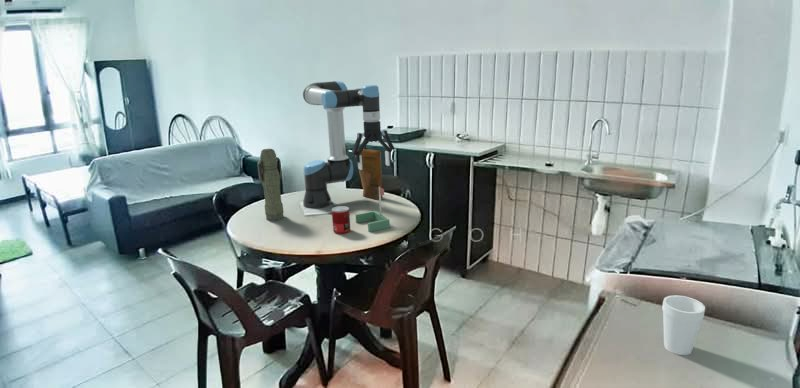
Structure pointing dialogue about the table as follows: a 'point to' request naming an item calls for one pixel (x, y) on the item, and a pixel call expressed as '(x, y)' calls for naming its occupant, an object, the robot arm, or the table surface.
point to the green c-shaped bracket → (374, 217)
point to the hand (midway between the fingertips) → (374, 167)
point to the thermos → (271, 183)
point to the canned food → (341, 219)
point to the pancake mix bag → (371, 173)
